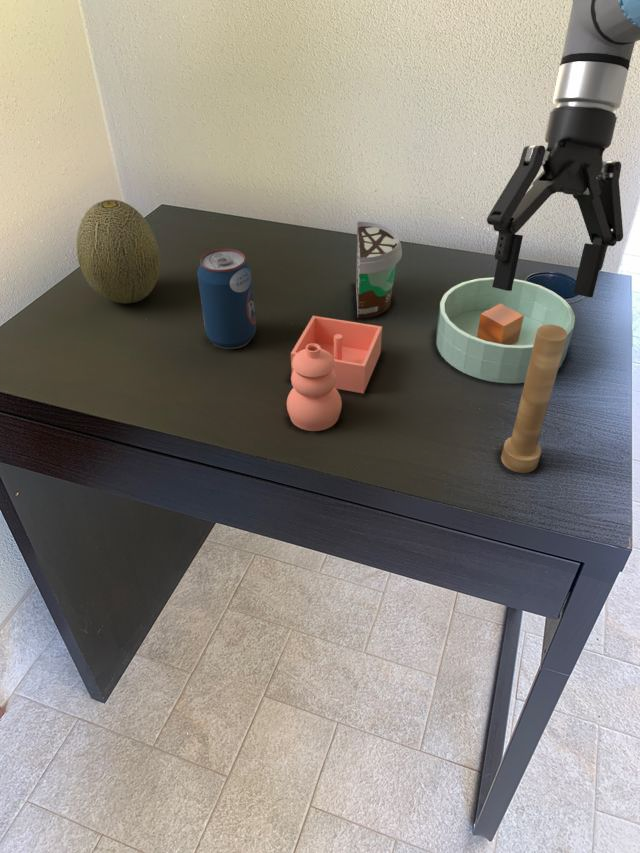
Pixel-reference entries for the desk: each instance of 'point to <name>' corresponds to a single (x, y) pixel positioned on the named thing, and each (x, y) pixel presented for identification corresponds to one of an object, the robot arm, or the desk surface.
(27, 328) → the desk surface
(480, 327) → the block
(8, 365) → the desk surface
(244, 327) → the soda can
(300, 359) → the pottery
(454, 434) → the desk surface
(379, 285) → the food container
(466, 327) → the bowl
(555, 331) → the pestle
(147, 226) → the fruit
